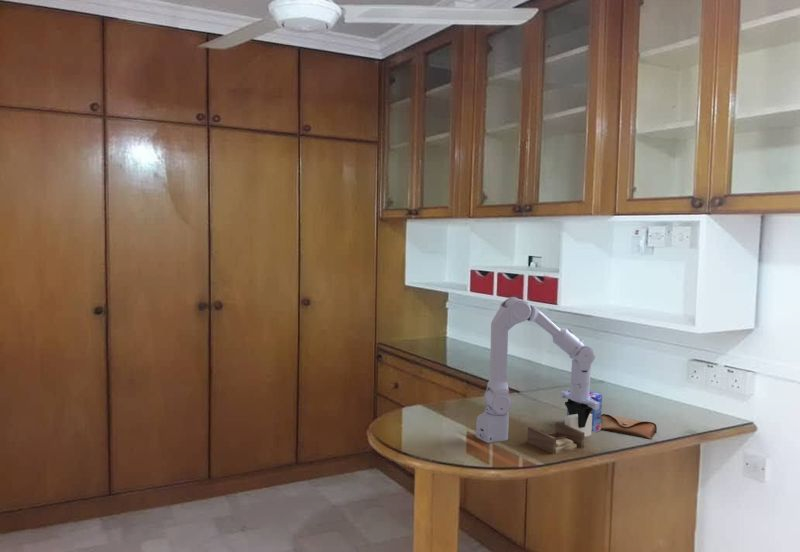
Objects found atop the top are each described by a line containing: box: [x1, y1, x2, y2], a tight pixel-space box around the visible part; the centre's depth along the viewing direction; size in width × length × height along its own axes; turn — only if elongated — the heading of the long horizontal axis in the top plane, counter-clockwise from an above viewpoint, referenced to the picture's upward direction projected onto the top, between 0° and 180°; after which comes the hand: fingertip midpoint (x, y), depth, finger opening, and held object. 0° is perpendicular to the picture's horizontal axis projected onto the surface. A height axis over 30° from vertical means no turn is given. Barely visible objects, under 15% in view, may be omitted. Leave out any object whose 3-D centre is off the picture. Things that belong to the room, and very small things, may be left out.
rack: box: [526, 421, 585, 455], centre depth 189 cm, size 12×11×6 cm
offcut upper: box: [556, 438, 573, 447], centre depth 187 cm, size 6×3×1 cm, turn 119°
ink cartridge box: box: [566, 390, 603, 433], centre depth 208 cm, size 10×6×14 cm, turn 47°
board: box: [564, 414, 592, 438], centre depth 197 cm, size 9×2×7 cm, turn 119°
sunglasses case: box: [600, 413, 658, 440], centre depth 207 cm, size 18×7×7 cm, turn 61°
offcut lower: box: [556, 443, 577, 452], centre depth 187 cm, size 8×4×1 cm, turn 119°
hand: (578, 425), depth 197 cm, fingers closed on board, 2 cm apart
